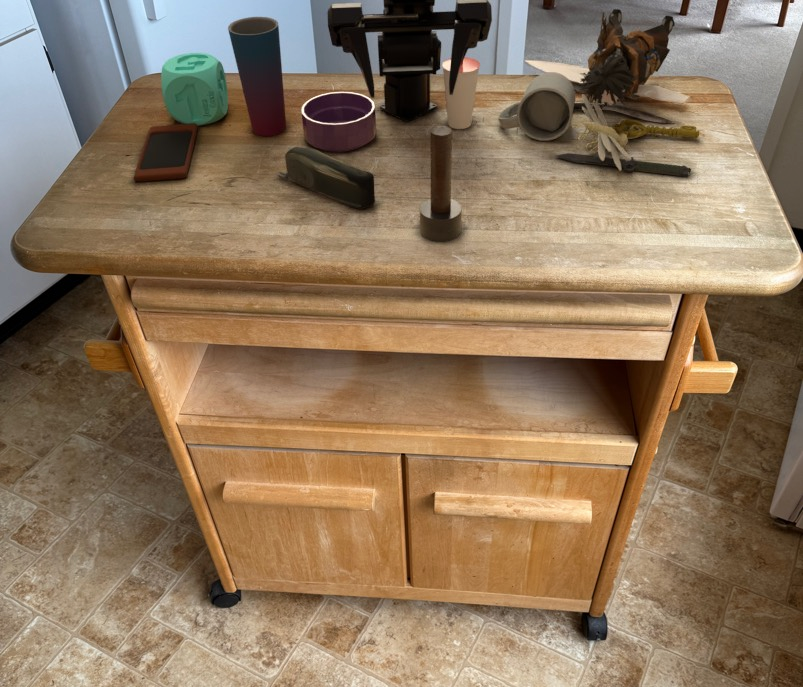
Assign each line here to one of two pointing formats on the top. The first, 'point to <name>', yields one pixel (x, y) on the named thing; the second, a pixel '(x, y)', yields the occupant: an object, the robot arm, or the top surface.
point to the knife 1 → (575, 74)
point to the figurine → (624, 59)
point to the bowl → (339, 121)
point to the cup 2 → (461, 93)
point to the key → (653, 130)
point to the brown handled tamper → (440, 191)
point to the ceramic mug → (542, 108)
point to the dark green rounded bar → (330, 177)
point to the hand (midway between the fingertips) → (412, 95)
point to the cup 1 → (260, 72)
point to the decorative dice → (194, 88)
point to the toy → (603, 134)
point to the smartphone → (166, 152)
